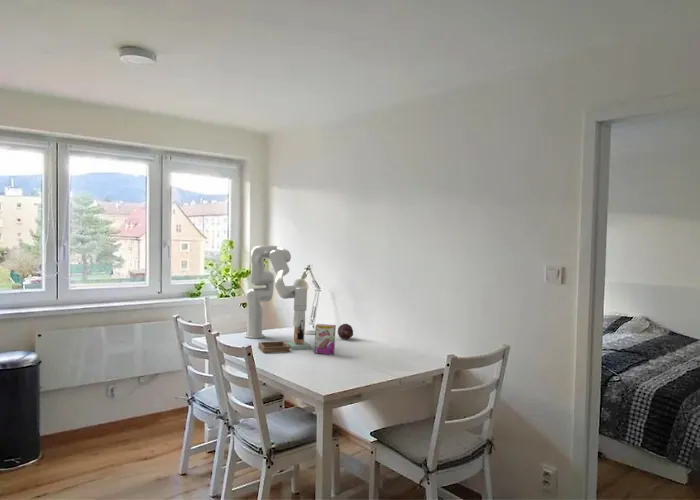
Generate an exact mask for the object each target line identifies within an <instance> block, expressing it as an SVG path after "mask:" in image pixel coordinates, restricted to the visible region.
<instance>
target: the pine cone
mask: <svg viewBox="0 0 700 500" xmlns="http://www.w3.org/2000/svg"><path fill="white" fill-rule="evenodd" d="M336 332H337V335H338V338H340V339H342V340H345V339H346V340H349V339H351V338H352V337H353V336H354V329H353V327H352V325H350V324H348V323H343V324H341V325H339V327H338V328H337V331H336Z"/></svg>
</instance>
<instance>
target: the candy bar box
mask: <svg viewBox="0 0 700 500" xmlns="http://www.w3.org/2000/svg"><path fill="white" fill-rule="evenodd" d="M336 327H337V325H336V324H327V323H326V324H325V323H316V324H315V329H314V331H315V334H314V354H317V355H330V354H333V355H334V354H335V352H336V332H337V331H336V329H337V328H336Z"/></svg>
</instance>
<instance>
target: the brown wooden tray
mask: <svg viewBox="0 0 700 500" xmlns="http://www.w3.org/2000/svg"><path fill="white" fill-rule="evenodd" d="M257 346H258V349H259V350H260V352H262V354H270V353H271V354H272V353H273V354H275V353H291V352H290V351H291V349H290V346H288V345H287V342H285V341H259V342H258V345H257Z"/></svg>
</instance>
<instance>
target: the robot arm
mask: <svg viewBox="0 0 700 500" xmlns="http://www.w3.org/2000/svg"><path fill="white" fill-rule="evenodd" d="M265 259H267V260H270V263H271V265H272V267H273V269H274V272H275V274H276V276H275V279H274V275H273V272H272V271H270V270H265V267H266V266H265V265H266V264H265V262H264V260H265ZM291 259H292V255H291V253H290V251H289V250H288V249H285V248H283V247H280V246H277V245H267V244H265V245H262V244H261V245H256V246H254V247H253V248H252V249H251V252H250V262H251V267H250V279H249V280H250V282H249V283H250V284H251V285H252V286H259V287H252V288H250V289H248V290H247V292H246V300H247V321H246V322H247V327H246V328H247V329H246V330H247V331H246V333H245V334H244V337H245V338H248V339H262V338H264V337H265V334H264V333H263V317H264V316H263V313H264V311H263V309H264V308H263V306H262V304H261V303H266V302H270V301H271V300H272V299H273V294H274V287H275V290H276V291H277V294H278V296H279V297H280V298H282V299H285V300H286V299H293V311H294V312H293V322H292V323H293V326H295V327H296V328H298V340H301V339H303V329H304V327H306V312H307V304H308V288H307V287H304V286H298V285H286V284H285V282H284V278H283V277H285V276H287V275H288V273H289V272H290V268H289V267H290V266H289V264H288V263H289V262H290V261H291ZM260 286H261V287H260ZM299 326H301V327H299Z"/></svg>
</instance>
